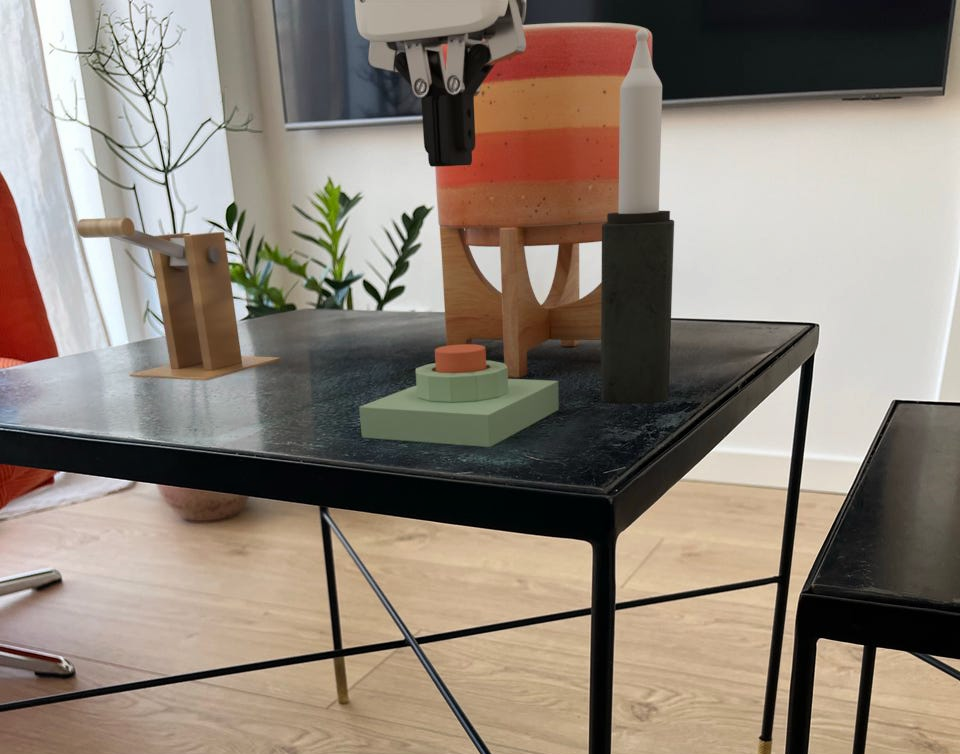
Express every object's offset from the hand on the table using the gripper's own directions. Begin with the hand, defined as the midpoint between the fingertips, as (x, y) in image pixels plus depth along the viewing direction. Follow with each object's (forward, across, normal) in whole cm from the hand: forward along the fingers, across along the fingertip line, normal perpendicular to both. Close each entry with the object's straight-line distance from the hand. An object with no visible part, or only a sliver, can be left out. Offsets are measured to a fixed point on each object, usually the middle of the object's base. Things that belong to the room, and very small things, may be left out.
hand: (450, 164), depth 67 cm
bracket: (+17, -33, +11) cm, 39 cm away
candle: (+17, +9, +12) cm, 23 cm away
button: (+14, 0, 0) cm, 14 cm away
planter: (+17, -5, +27) cm, 32 cm away
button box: (+17, 0, 0) cm, 17 cm away
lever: (+6, -33, +6) cm, 34 cm away
